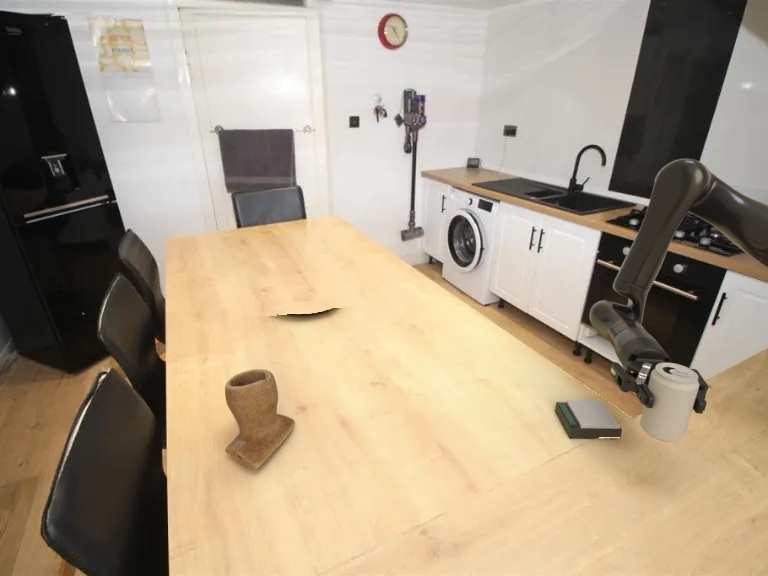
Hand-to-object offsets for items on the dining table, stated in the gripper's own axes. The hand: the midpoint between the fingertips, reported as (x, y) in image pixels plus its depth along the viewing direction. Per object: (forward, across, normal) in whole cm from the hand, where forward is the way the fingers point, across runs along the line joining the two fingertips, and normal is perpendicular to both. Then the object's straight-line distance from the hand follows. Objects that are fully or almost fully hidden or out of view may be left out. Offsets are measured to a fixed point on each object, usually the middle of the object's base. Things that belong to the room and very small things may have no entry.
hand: (675, 406), depth 65 cm
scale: (-16, -7, +18) cm, 25 cm away
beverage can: (-2, 0, +7) cm, 8 cm away
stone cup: (+3, -74, +18) cm, 76 cm away
